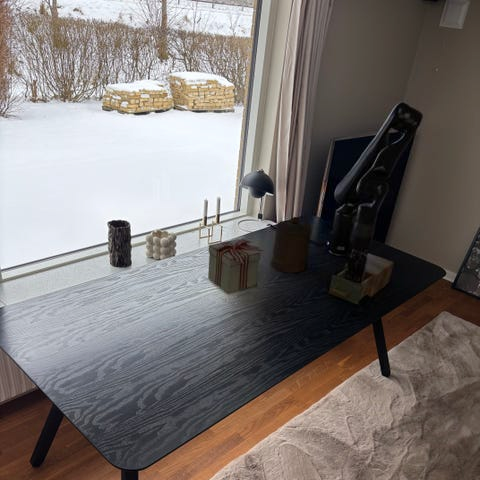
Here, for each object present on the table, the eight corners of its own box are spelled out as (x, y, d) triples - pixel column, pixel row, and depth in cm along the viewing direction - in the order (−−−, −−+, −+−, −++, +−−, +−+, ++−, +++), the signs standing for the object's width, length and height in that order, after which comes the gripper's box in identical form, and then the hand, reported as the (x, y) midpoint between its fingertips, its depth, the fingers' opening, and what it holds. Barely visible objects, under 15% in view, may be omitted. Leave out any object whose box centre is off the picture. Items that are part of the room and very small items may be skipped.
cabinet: (371, 296, 193) (376, 275, 188) (341, 285, 200) (345, 263, 195) (388, 282, 205) (394, 262, 199) (359, 272, 211) (363, 251, 206)
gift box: (234, 298, 185) (237, 257, 176) (205, 279, 196) (206, 240, 187) (266, 286, 195) (270, 247, 186) (236, 269, 206) (239, 231, 197)
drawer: (350, 310, 181) (354, 292, 177) (321, 298, 187) (324, 280, 183) (375, 290, 196) (379, 273, 191) (347, 280, 202) (350, 263, 198)
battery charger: (342, 278, 190) (348, 252, 183) (347, 275, 192) (353, 249, 186) (358, 285, 186) (364, 257, 180) (363, 281, 188) (369, 255, 182)
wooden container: (311, 264, 215) (318, 217, 204) (296, 276, 204) (303, 227, 193) (281, 255, 222) (287, 209, 210) (265, 266, 211) (270, 218, 199)
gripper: (363, 241, 172) (354, 283, 181) (380, 230, 181) (371, 271, 191) (345, 235, 176) (337, 277, 185) (362, 225, 185) (354, 265, 194)
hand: (354, 274), depth 188 cm, fingers closed on battery charger, 4 cm apart
